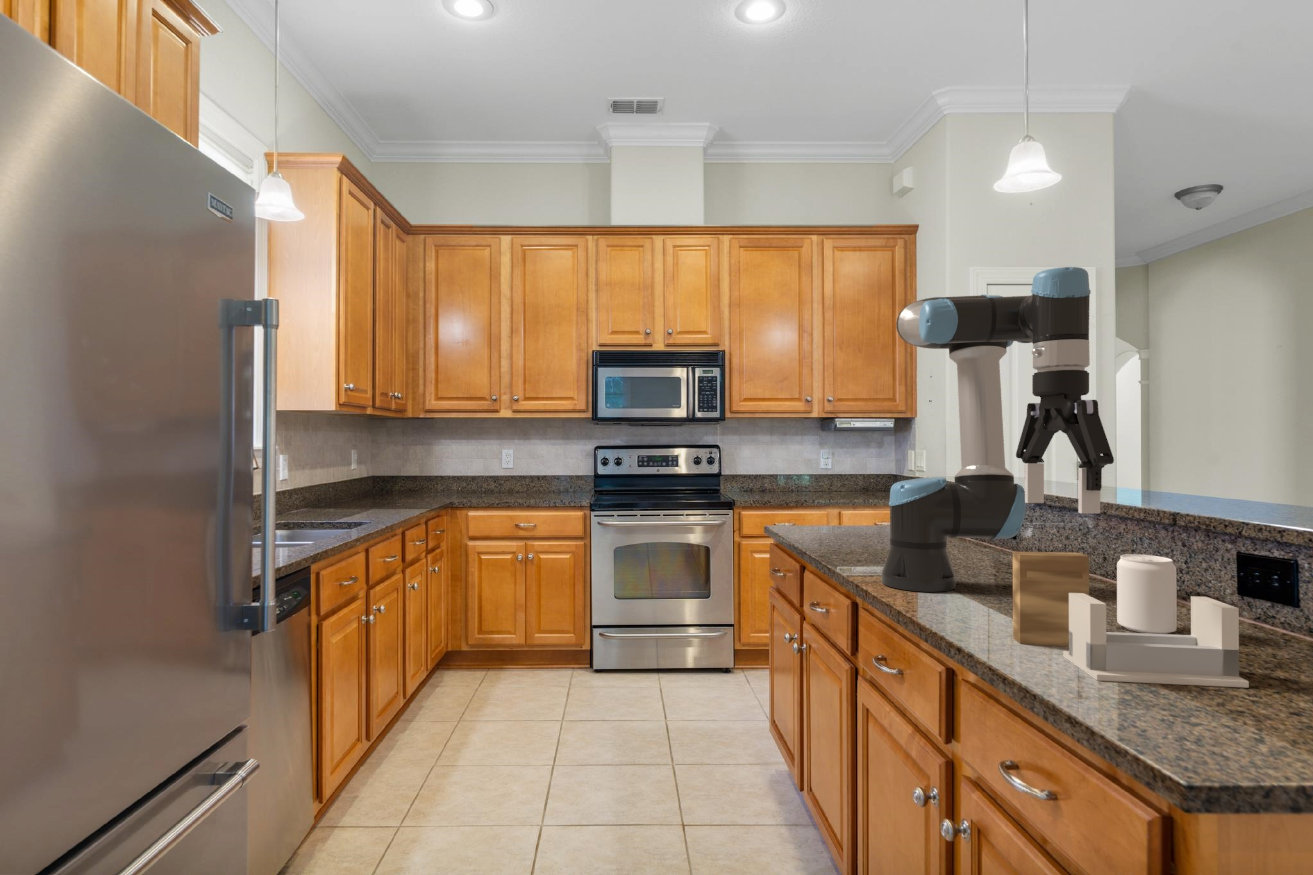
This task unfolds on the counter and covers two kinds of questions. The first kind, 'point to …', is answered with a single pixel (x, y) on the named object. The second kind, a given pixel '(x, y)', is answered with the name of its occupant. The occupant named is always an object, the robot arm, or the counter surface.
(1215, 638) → the door track
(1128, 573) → the beverage can
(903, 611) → the counter surface
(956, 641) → the counter surface
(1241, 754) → the counter surface
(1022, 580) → the door panel
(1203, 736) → the counter surface
